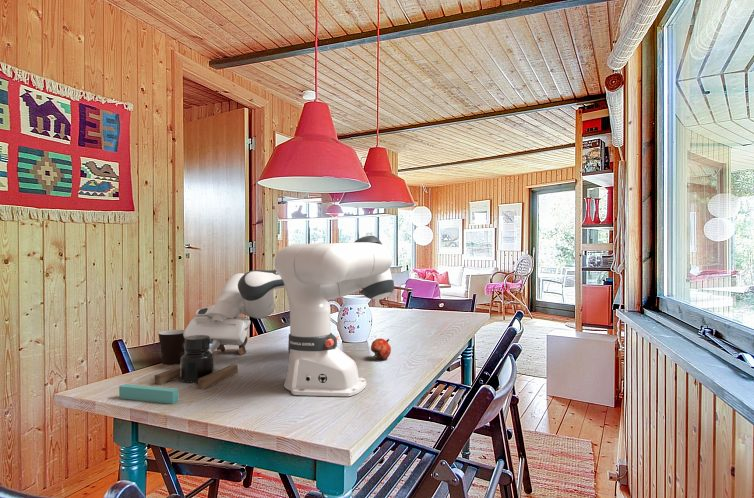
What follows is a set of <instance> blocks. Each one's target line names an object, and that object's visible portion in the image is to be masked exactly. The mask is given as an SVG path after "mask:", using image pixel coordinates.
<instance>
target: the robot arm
mask: <svg viewBox="0 0 754 498" xmlns="http://www.w3.org/2000/svg"><path fill="white" fill-rule="evenodd" d="M392 263H393V255H392V252H391V250H390V249H389V248H388V247H387V246H386V245H383V243H382V241H381V240H380V239H379V237H377V236H375V235H364V236H361V237H359V238H358V239H356V240H354V241H353V242H338V243H336V242H335V243H294V244H290V245H287V246H285V247H283V248H281V249H280V250H279V251H278V252H277V254H276V255H275V257H274V269H272V270H271V269H270V270H268V269H267V270H266V269H254V270H253V269H252V270H249V271H247V272H246V273H242V272H240V273H235V274H233V275H232V276H230V278H228V280H227V281H226V283H225V284H224V285H223V287H222V289H221V291H220V293H219V298H218V299H216V301H215V303H214V304H212V305H209V306H207V307H203V308H199V309H197V310H196V311H195V313H194V314H195V316H194V317H193V318H191V320H190V321H189V323H188V324H187V326H186V328H185V329H184V330H185V331H184V333H183V336H184V338H185V337H188V336H194V335H208V336H209V337H210V349H209V350H208V351H210V352H211V353H212V354H213V352H214V351H216V350H217V348H218V347H219V345H220V344H224V346H225V345H226V346H238V345H241V344H243V343H244V341H245V338H246V336H247V334H248V329H249V328H250V325H251V322H252V321H251V320H250V319H249V317H250V318H252V319H256V320H259V319H260V320H261V319H265V318H267V317H269V316H270V315H271V314H272V313H273V312H274V310H275V308H276V304H275V298H274V294H273V291H275V290H276V289H282V288H283V289H285V291H286V294H287V299H288V300H287V301H288V305H289V326H290V327H289V328H290V330H289V332H290V333H289V334H288V344H287V345H288V353H289V358H288V359H289V360H288V366H287V374H286V377H285V381H284V384H283V386H284V388H285V389H286V390H288V391H290V392H291V394H292V395H294V396H311V397H312V396H313V397H314V396H315V397H317V396H318V397H319V396H320V397H350V396H351V397H352V396H355V395H357V394H359V393H361V392H362V391H363V390H364V389H366V387H367V380H366V378H364V377H359V371H358V366H357V363H356V361H355V360H354V359H353V358H351V357H350V356H349V355H348V354H346V353H345V352H343V350H341V349H340V348H339V347H338V341H339V340H340V339H339V335H336V336H335V335H334V334H333V333H332V332H331V305H330V303H329V301H332V300H336V299H338V298H339V299H340V298H343V297H345V296H350V295H351V294H354V293H356V292H358V293H359V294H360V295H363V296H364V297H366V299H367V298H368V299H369V300H379V301H380V300H383V299H385V298H388V297H389V296H390V295H392V293H393V292H394V290H395V283H394V280H393V276H392V275H393V274H392V272H391V266H392ZM241 314H242V315H245V317H241Z"/></svg>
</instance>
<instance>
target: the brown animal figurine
mask: <svg viewBox="0 0 754 498" xmlns="http://www.w3.org/2000/svg"><path fill="white" fill-rule="evenodd" d="M247 343H248V337H247V335H246V338H245V341H244V343H243V344H241V345H237V346H238V349H237V353H238V355H239V356H241V355H244V354H246V353H247V350H246V346H247ZM216 350H217V351H220V352H221V353H224V352H225V351H226V348H225V345H224V344H220V345H219V347H218V348H217V349H216Z"/></svg>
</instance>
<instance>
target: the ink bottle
mask: <svg viewBox="0 0 754 498" xmlns="http://www.w3.org/2000/svg"><path fill="white" fill-rule="evenodd" d="M210 346H211V344H210V337H209V336H208V335H194V336H188V337H185V352H184V355H182V356H181V359H180V363H179V366H180V377H179V379H180V381H182V382H186V383H198V379H199V378H202V377H204V376H206V375H209V374H211V373H213V372H215V371H214V370H215V369H214V365H215V363H214V359H215V356H214V354H213V352H212V353H211V352H210V351H208V350H209V349H210Z"/></svg>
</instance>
